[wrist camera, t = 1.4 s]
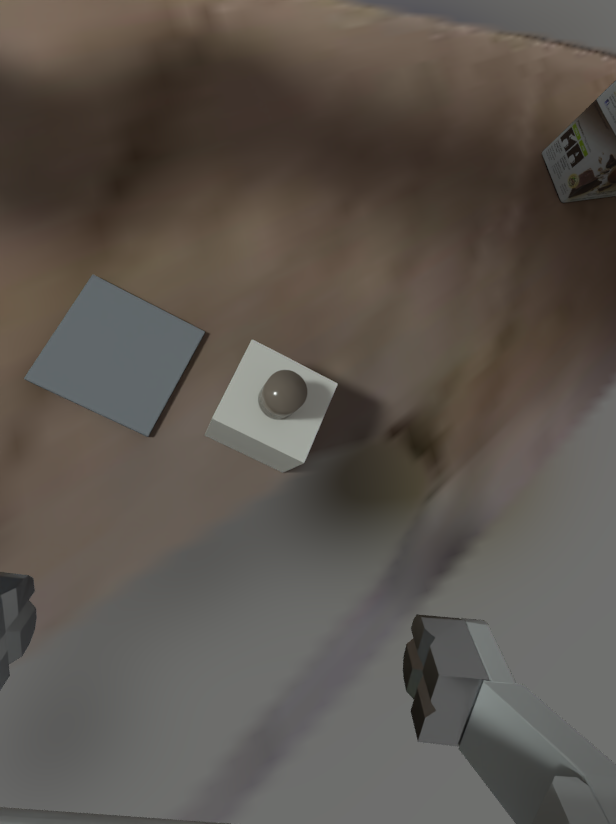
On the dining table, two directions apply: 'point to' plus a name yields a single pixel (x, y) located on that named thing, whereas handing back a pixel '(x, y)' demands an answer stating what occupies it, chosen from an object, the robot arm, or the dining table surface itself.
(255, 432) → the perfume bottle
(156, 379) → the felt mat
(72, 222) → the dining table surface
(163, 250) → the dining table surface
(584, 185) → the coffee box
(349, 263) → the dining table surface
